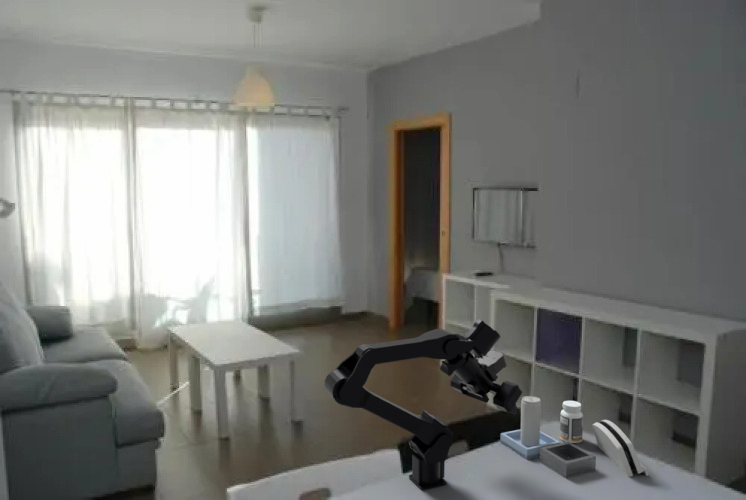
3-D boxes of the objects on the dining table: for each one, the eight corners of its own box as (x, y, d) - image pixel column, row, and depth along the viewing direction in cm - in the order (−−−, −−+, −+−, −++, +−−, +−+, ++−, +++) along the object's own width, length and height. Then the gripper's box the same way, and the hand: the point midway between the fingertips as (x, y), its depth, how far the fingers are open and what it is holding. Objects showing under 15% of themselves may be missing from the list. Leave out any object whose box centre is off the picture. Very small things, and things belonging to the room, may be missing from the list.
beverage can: (524, 448, 146) (525, 402, 145) (517, 440, 151) (518, 396, 150) (542, 447, 147) (544, 402, 146) (535, 439, 152) (536, 395, 150)
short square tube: (565, 478, 133) (566, 463, 132) (539, 461, 141) (539, 448, 141) (595, 470, 136) (596, 456, 136) (568, 455, 145) (568, 441, 144)
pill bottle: (581, 436, 156) (582, 400, 155) (583, 445, 150) (584, 408, 149) (559, 434, 157) (560, 398, 156) (560, 442, 152) (561, 406, 151)
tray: (526, 459, 142) (527, 449, 142) (500, 442, 152) (500, 433, 152) (560, 451, 146) (560, 442, 146) (532, 435, 156) (532, 426, 156)
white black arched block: (649, 476, 134) (637, 437, 133) (630, 483, 134) (617, 444, 133) (616, 445, 150) (605, 410, 149) (599, 451, 150) (587, 416, 149)
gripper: (517, 351, 128) (548, 390, 135) (459, 334, 143) (490, 370, 151) (491, 392, 124) (525, 430, 132) (435, 370, 140) (467, 405, 147)
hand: (501, 406), depth 140 cm, fingers open, 9 cm apart
